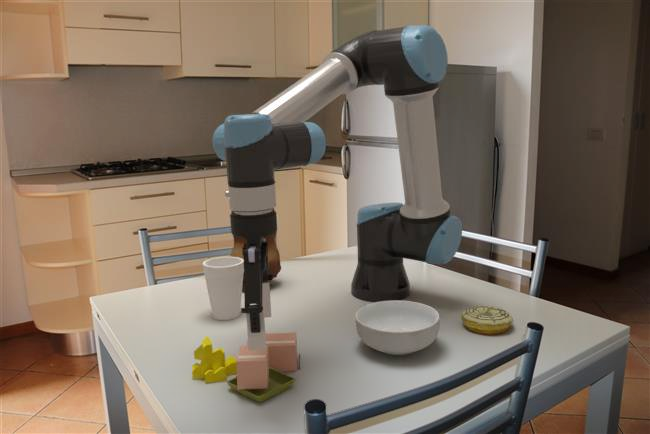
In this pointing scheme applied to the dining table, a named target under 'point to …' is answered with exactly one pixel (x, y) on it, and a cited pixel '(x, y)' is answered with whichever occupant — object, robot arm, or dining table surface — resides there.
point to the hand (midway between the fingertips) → (260, 332)
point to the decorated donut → (486, 320)
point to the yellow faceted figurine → (212, 363)
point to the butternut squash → (272, 253)
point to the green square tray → (275, 385)
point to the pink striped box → (282, 351)
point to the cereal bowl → (397, 326)
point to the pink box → (252, 368)
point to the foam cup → (224, 286)
